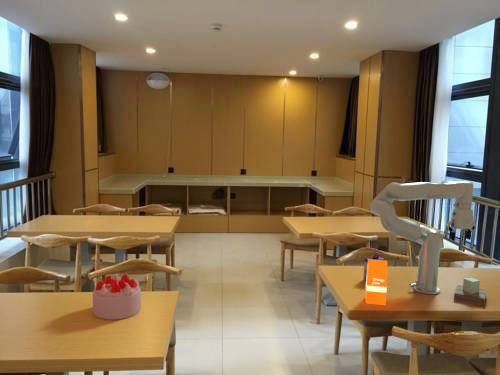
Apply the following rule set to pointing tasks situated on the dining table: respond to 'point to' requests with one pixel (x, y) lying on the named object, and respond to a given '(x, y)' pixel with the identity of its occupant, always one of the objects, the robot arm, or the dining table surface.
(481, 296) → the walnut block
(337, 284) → the dining table surface
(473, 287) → the sage block
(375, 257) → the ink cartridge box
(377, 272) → the orange juice
